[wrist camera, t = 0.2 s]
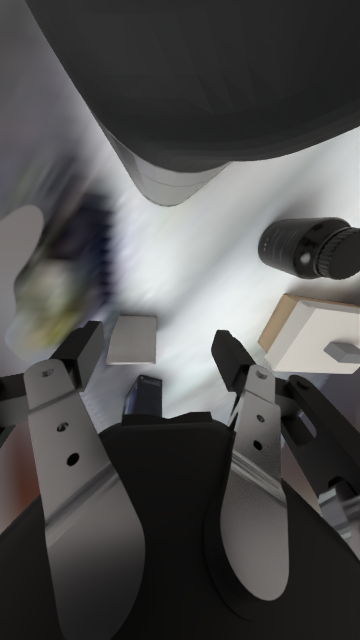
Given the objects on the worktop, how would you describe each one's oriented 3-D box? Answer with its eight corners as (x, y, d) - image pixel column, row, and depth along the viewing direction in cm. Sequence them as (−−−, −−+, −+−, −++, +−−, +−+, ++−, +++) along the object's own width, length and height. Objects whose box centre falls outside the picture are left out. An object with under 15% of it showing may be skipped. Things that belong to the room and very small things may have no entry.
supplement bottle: (305, 219, 24) (409, 217, 14) (287, 265, 28) (361, 289, 18) (263, 217, 24) (342, 214, 13) (251, 265, 27) (306, 290, 17)
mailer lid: (299, 299, 27) (335, 318, 21) (385, 311, 30) (433, 330, 25) (263, 358, 33) (283, 384, 28) (337, 362, 37) (367, 386, 32)
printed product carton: (119, 315, 29) (103, 353, 21) (156, 316, 30) (155, 353, 22) (121, 331, 31) (107, 372, 23) (156, 332, 32) (155, 371, 24)
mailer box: (283, 294, 31) (313, 311, 25) (354, 304, 34) (394, 321, 28) (257, 342, 37) (276, 364, 31) (319, 346, 40) (347, 368, 34)
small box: (138, 373, 38) (132, 419, 29) (163, 379, 40) (164, 424, 31) (123, 398, 42) (114, 445, 33) (146, 403, 44) (143, 448, 35)
